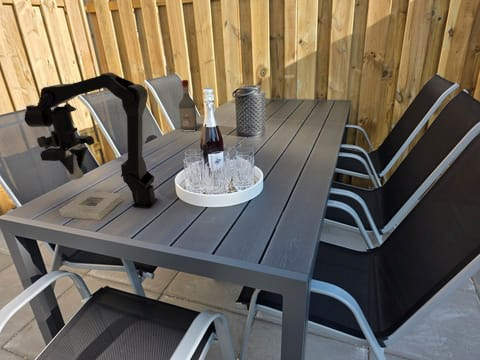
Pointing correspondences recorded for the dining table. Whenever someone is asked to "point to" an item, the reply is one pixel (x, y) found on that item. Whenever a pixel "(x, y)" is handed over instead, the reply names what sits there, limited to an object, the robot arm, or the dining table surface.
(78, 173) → the rook chess piece
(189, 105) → the liquor
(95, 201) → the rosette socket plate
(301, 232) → the dining table surface
